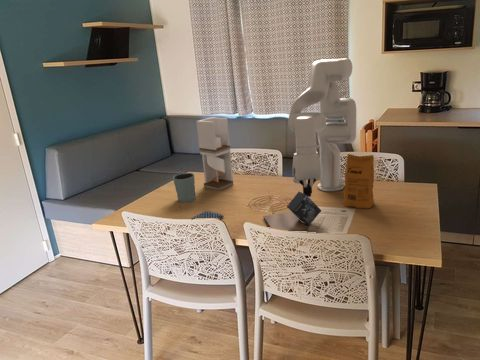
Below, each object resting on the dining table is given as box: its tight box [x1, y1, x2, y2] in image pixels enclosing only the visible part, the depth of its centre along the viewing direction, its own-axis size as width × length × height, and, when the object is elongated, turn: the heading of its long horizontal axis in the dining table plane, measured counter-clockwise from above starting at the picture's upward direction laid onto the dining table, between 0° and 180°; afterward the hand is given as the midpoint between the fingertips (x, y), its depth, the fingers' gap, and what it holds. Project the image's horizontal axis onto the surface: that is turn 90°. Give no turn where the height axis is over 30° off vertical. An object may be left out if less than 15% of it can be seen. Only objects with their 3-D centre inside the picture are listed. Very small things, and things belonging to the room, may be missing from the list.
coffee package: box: [343, 153, 375, 209], centre depth 169 cm, size 10×12×22 cm
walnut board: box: [263, 211, 309, 232], centre depth 158 cm, size 12×18×2 cm
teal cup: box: [172, 172, 197, 203], centre depth 195 cm, size 10×10×12 cm
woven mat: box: [190, 210, 225, 220], centre depth 170 cm, size 10×11×2 cm
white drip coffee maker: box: [196, 116, 234, 191], centre depth 207 cm, size 11×11×35 cm
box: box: [286, 191, 322, 226], centre depth 156 cm, size 8×6×11 cm
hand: (307, 195), depth 156 cm, fingers closed
